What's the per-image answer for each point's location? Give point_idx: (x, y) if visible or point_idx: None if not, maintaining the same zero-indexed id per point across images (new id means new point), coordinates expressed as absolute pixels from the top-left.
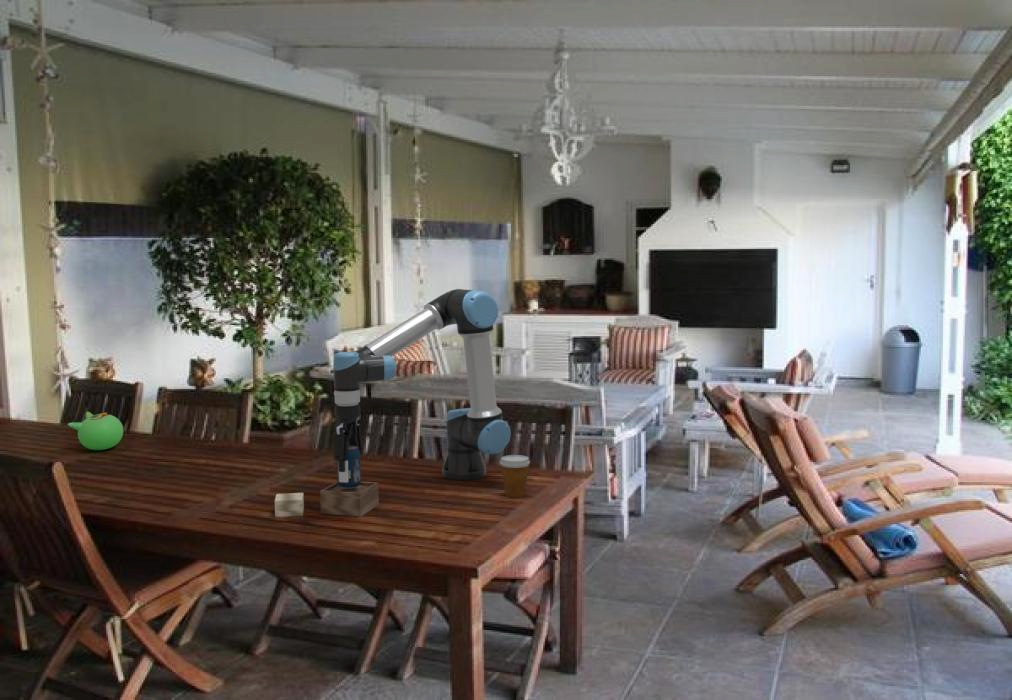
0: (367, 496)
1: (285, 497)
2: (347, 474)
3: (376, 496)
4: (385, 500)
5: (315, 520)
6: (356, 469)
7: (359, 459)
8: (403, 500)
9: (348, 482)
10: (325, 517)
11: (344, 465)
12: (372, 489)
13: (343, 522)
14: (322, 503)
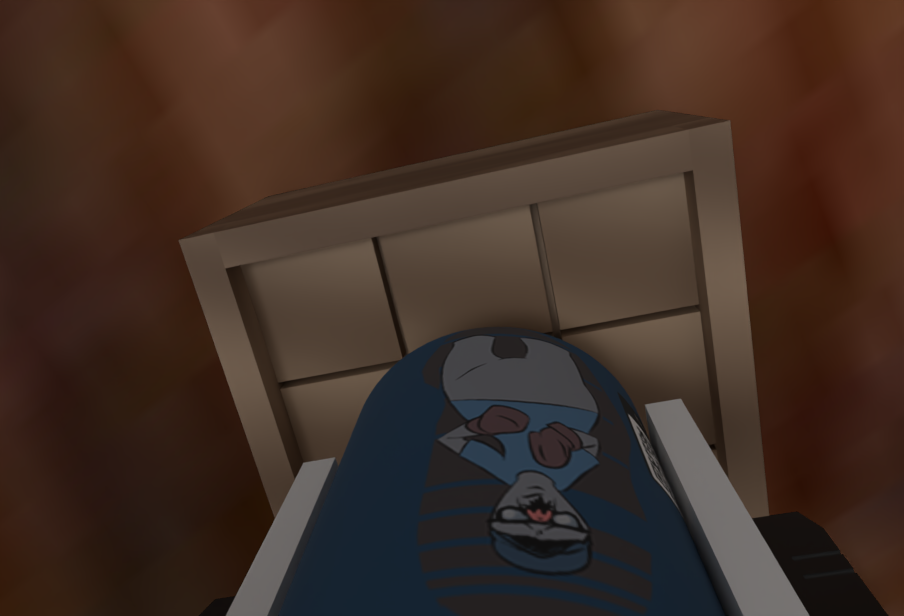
0: (501, 159)
1: None
2: (698, 459)
3: (286, 200)
4: (132, 224)
5: (896, 390)
6: (543, 423)
7: (426, 524)
8: (32, 72)
9: (631, 405)
10: (791, 370)
11: (801, 596)
12: (355, 197)
13: (875, 140)
14: None
